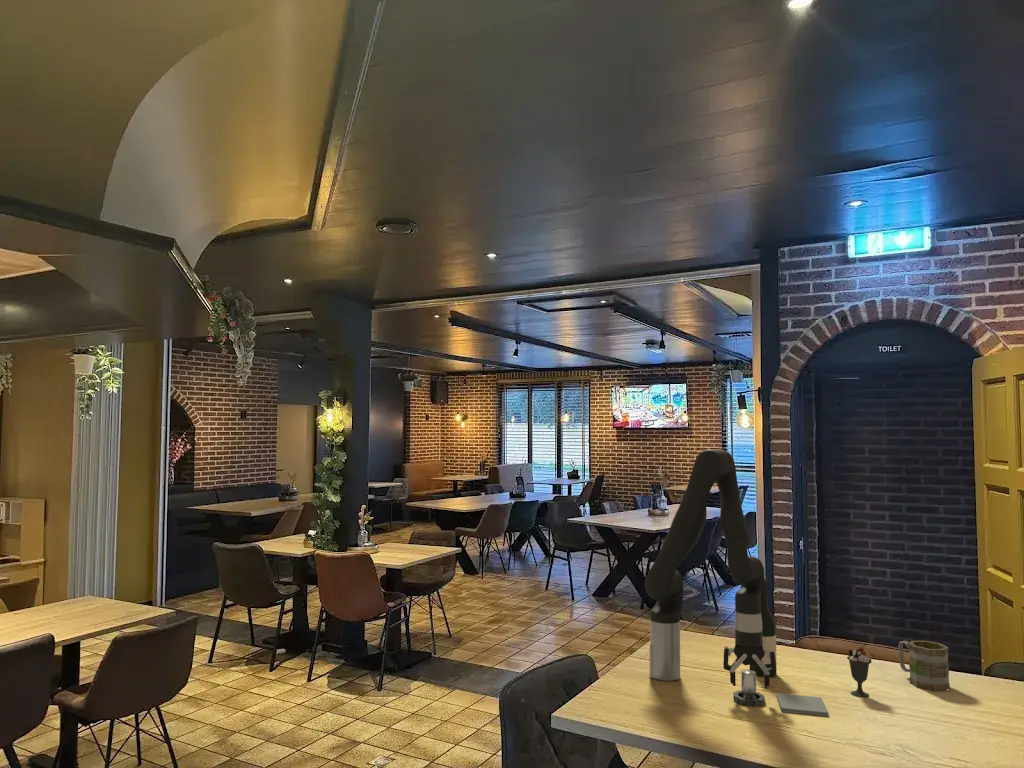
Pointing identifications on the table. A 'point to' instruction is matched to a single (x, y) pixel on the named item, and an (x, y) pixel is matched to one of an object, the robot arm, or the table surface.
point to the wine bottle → (766, 633)
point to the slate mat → (802, 704)
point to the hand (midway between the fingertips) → (749, 686)
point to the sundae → (859, 669)
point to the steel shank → (748, 684)
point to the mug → (926, 664)
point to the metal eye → (749, 702)
